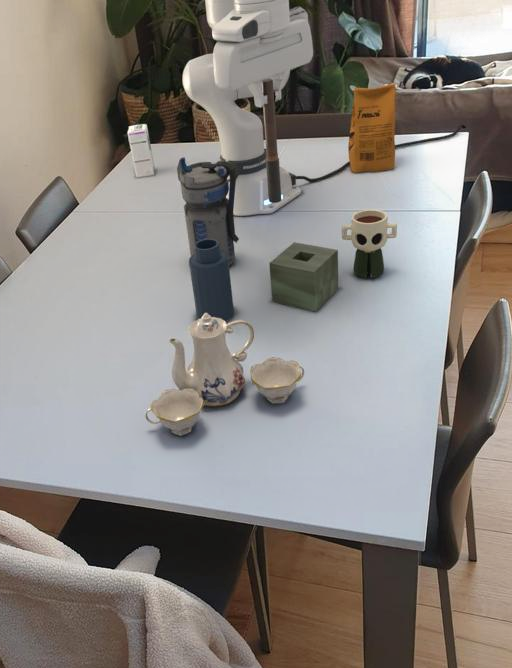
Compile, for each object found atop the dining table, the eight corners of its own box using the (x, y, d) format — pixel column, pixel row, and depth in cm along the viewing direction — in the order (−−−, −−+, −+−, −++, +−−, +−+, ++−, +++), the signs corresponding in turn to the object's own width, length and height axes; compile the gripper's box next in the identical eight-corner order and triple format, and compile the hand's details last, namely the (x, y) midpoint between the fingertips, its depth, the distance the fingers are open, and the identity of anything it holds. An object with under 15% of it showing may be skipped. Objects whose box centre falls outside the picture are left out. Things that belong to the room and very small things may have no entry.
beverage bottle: (235, 276, 159) (224, 168, 145) (182, 271, 165) (166, 167, 151) (251, 255, 166) (242, 150, 152) (199, 251, 172) (186, 150, 158)
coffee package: (348, 162, 205) (347, 83, 193) (393, 158, 203) (395, 78, 190) (349, 175, 198) (348, 93, 185) (395, 171, 195) (398, 88, 182)
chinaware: (167, 464, 114) (155, 387, 104) (129, 402, 126) (115, 328, 116) (317, 403, 121) (320, 326, 111) (267, 350, 133) (266, 275, 123)
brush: (272, 197, 137) (264, 78, 124) (283, 198, 135) (276, 78, 123) (266, 202, 135) (257, 82, 123) (277, 203, 134) (269, 82, 122)
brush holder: (296, 279, 154) (294, 241, 149) (338, 288, 148) (337, 249, 143) (272, 301, 148) (269, 263, 143) (315, 311, 142) (314, 272, 137)
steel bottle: (217, 301, 151) (208, 232, 142) (241, 313, 146) (234, 242, 137) (189, 315, 148) (179, 246, 139) (213, 328, 143) (203, 256, 134)
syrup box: (154, 175, 220) (146, 128, 212) (135, 178, 220) (127, 131, 212) (155, 169, 225) (147, 122, 216) (136, 171, 225) (128, 125, 217)
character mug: (341, 281, 150) (341, 224, 143) (342, 265, 156) (342, 210, 149) (395, 280, 148) (398, 222, 140) (394, 264, 153) (396, 207, 146)
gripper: (292, 3, 124) (296, 85, 132) (203, 31, 115) (213, 117, 123) (320, 4, 120) (322, 89, 128) (229, 33, 111) (238, 122, 119)
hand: (268, 103), depth 125 cm, fingers closed on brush, 2 cm apart
